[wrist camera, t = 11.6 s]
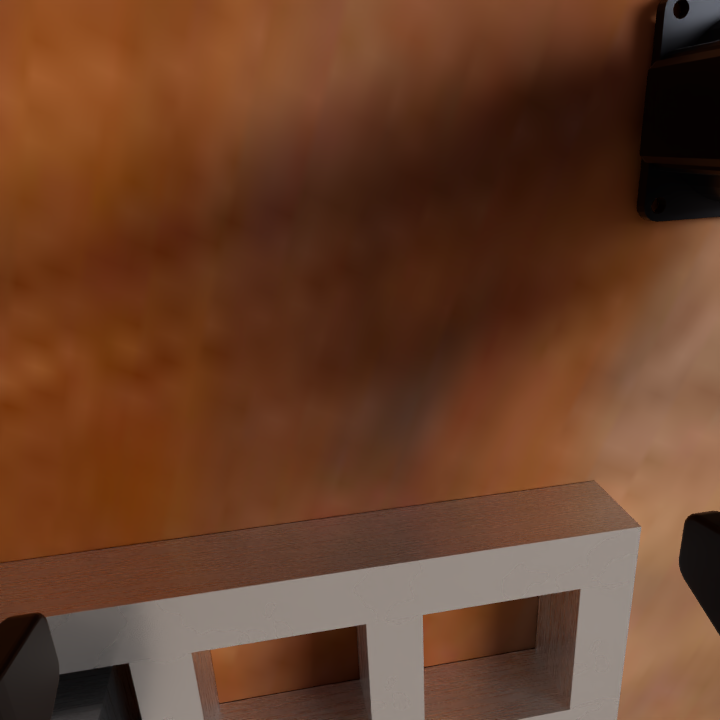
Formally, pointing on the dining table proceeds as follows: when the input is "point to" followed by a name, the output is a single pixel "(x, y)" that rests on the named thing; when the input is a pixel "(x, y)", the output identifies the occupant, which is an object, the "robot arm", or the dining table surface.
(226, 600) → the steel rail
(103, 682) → the graphite block
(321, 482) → the dining table surface
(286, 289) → the dining table surface
